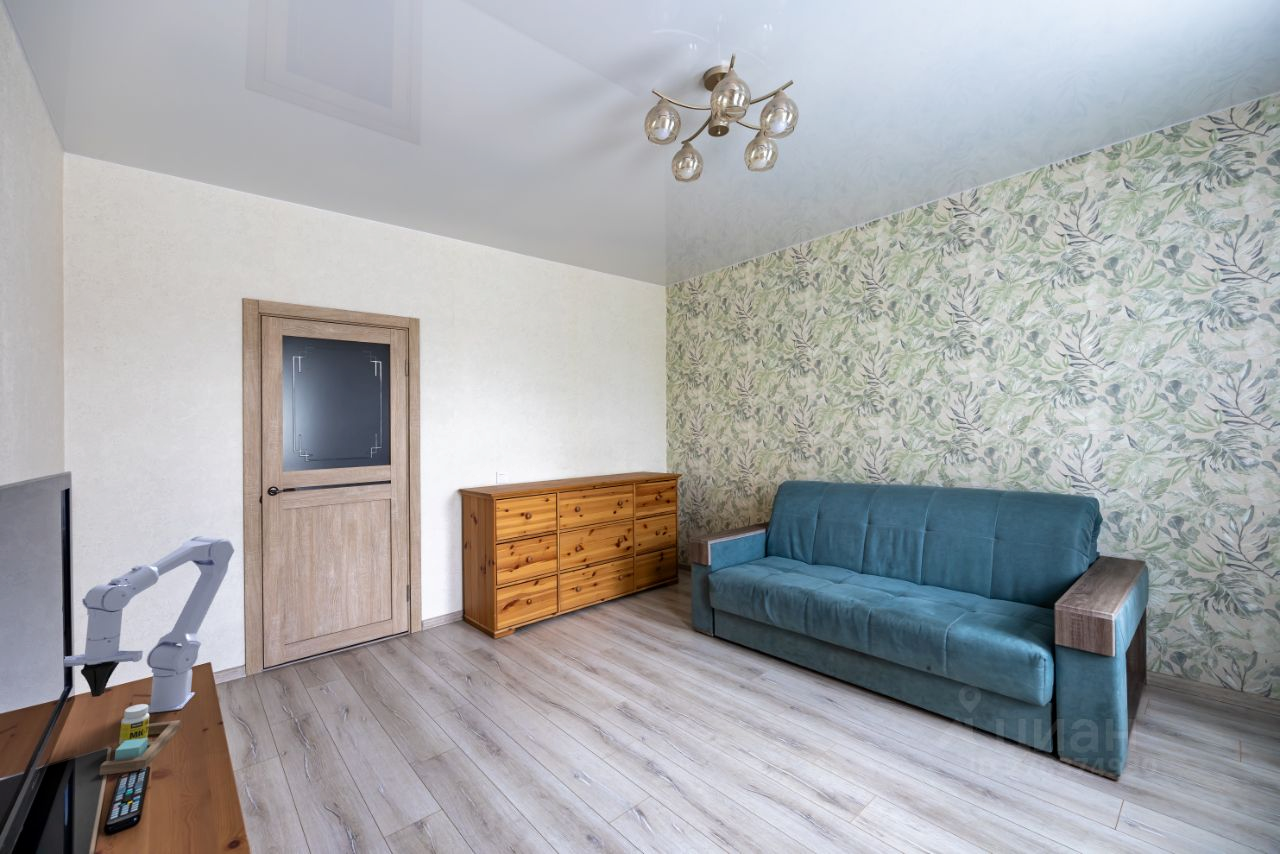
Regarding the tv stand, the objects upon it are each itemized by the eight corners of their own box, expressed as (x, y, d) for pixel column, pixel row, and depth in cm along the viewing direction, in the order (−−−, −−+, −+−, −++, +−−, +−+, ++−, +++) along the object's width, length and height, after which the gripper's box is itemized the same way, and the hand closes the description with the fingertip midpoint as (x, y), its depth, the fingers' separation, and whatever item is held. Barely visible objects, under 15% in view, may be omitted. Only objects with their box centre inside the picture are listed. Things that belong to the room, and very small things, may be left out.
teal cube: (123, 759, 117) (125, 740, 117) (146, 755, 119) (148, 737, 119) (113, 769, 113) (115, 750, 114) (137, 766, 115) (139, 747, 115)
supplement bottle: (127, 752, 119) (131, 714, 120) (113, 748, 121) (116, 710, 121) (152, 741, 124) (155, 705, 124) (138, 737, 125) (141, 701, 126)
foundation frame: (140, 733, 127) (141, 724, 127) (179, 728, 130) (180, 720, 130) (99, 775, 111) (100, 765, 111) (145, 769, 114) (145, 759, 114)
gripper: (51, 645, 119) (45, 706, 118) (134, 639, 125) (128, 698, 124) (70, 634, 126) (65, 693, 125) (148, 629, 131) (143, 685, 130)
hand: (97, 694), depth 125 cm, fingers closed
